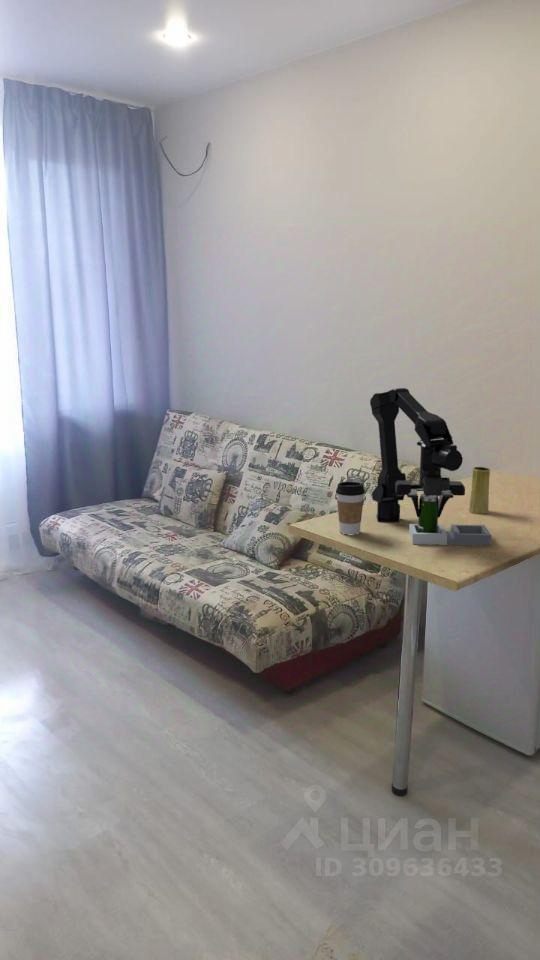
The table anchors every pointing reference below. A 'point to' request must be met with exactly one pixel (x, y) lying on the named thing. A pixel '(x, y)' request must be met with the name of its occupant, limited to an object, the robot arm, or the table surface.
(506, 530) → the table surface
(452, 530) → the grey double square frame
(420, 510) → the beer can
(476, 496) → the vase
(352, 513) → the coffee cup
